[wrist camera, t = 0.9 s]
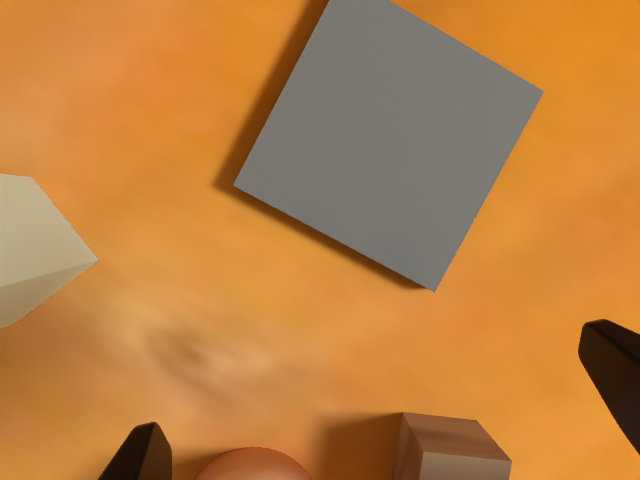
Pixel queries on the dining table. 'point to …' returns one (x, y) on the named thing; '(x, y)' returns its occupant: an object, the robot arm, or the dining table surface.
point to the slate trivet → (388, 137)
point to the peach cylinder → (253, 466)
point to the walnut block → (447, 450)
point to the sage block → (34, 248)
